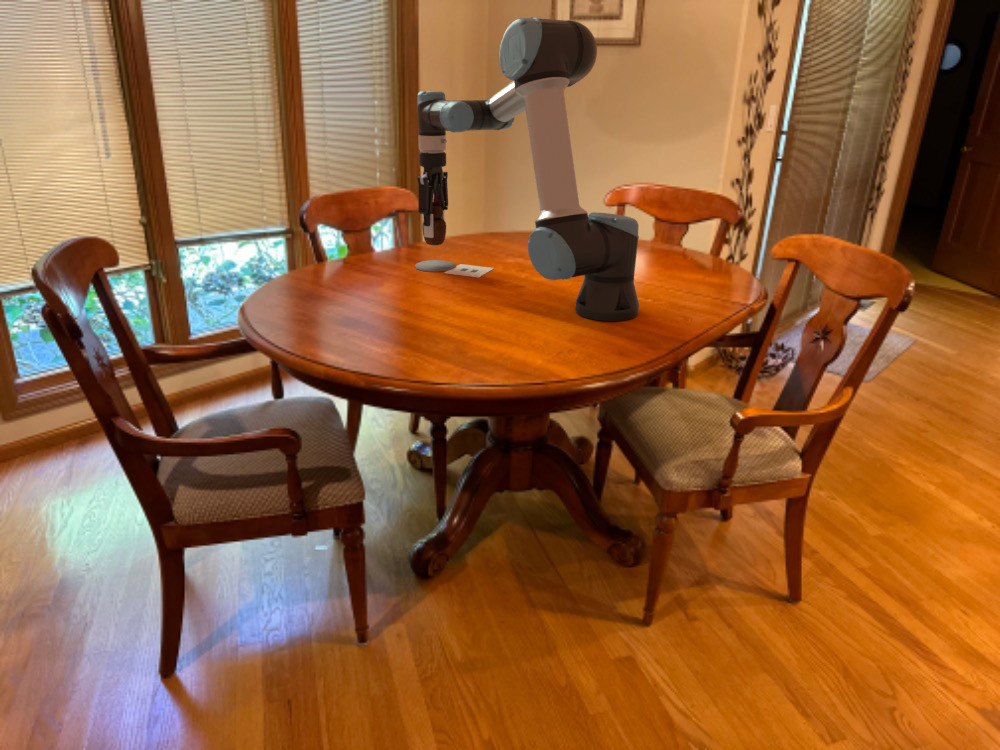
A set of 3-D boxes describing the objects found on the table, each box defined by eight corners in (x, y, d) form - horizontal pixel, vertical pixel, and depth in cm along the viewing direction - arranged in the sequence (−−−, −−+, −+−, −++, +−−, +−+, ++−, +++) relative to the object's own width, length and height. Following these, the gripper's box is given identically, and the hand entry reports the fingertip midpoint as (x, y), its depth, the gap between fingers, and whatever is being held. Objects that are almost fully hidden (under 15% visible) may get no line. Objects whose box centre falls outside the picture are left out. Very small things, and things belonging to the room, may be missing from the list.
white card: (478, 277, 192) (478, 277, 192) (443, 273, 196) (443, 272, 196) (494, 268, 201) (494, 268, 201) (460, 264, 205) (460, 264, 205)
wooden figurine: (447, 242, 202) (447, 190, 196) (444, 246, 197) (443, 193, 191) (425, 241, 203) (423, 189, 196) (421, 246, 197) (419, 192, 191)
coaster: (444, 273, 195) (444, 272, 195) (407, 269, 199) (407, 267, 199) (462, 264, 205) (462, 262, 205) (427, 259, 209) (427, 258, 209)
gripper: (427, 155, 180) (430, 242, 189) (459, 149, 196) (460, 229, 205) (403, 153, 182) (406, 240, 192) (436, 147, 199) (438, 227, 208)
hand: (434, 234), depth 198 cm, fingers closed on wooden figurine, 6 cm apart
